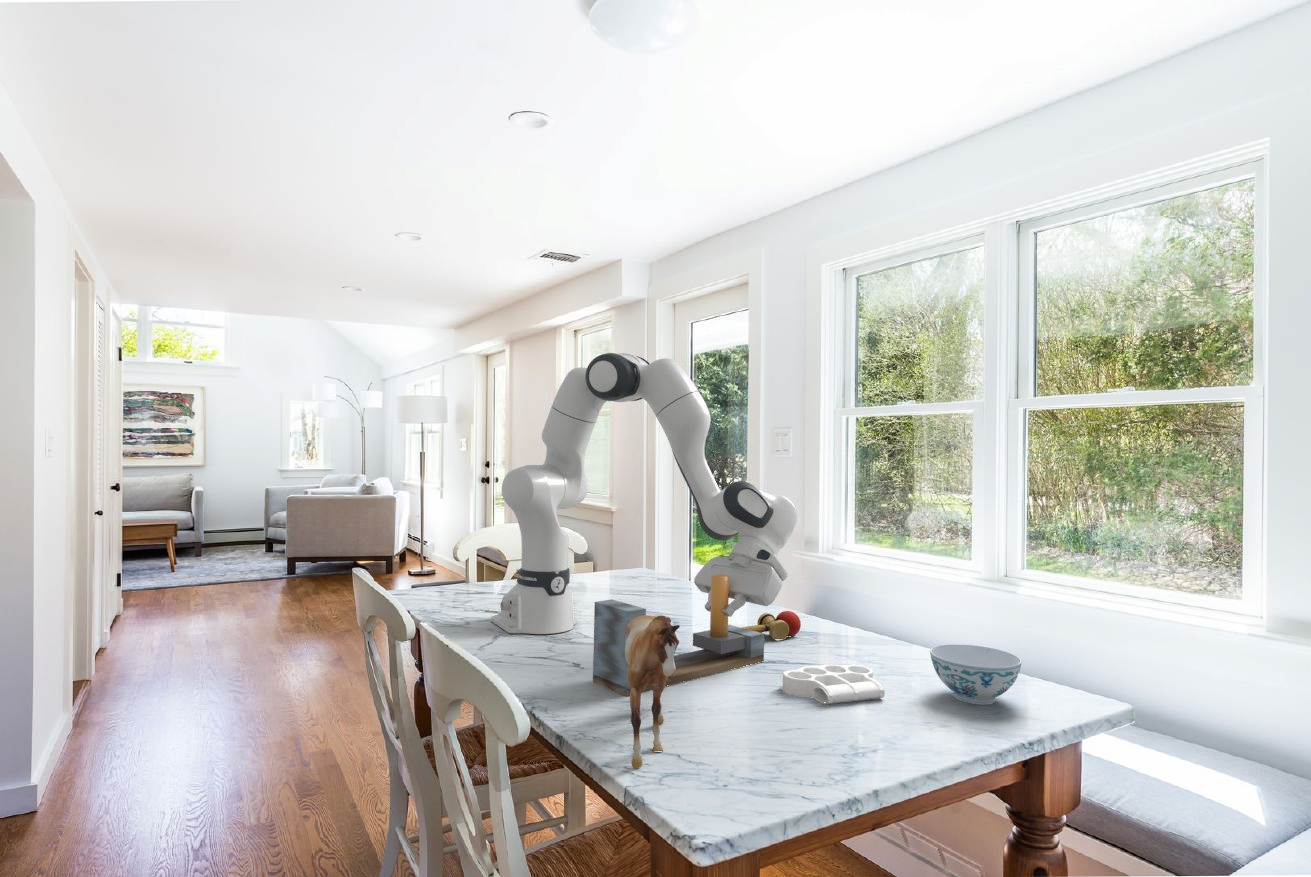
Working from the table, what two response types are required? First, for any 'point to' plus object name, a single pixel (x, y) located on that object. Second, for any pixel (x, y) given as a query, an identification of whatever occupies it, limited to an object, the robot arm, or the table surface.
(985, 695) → the chinaware
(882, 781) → the table surface
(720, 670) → the walnut rail
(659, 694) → the horse figurine
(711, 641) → the carriage
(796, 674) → the white brass knuckles
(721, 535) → the robot arm
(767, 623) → the kendama
